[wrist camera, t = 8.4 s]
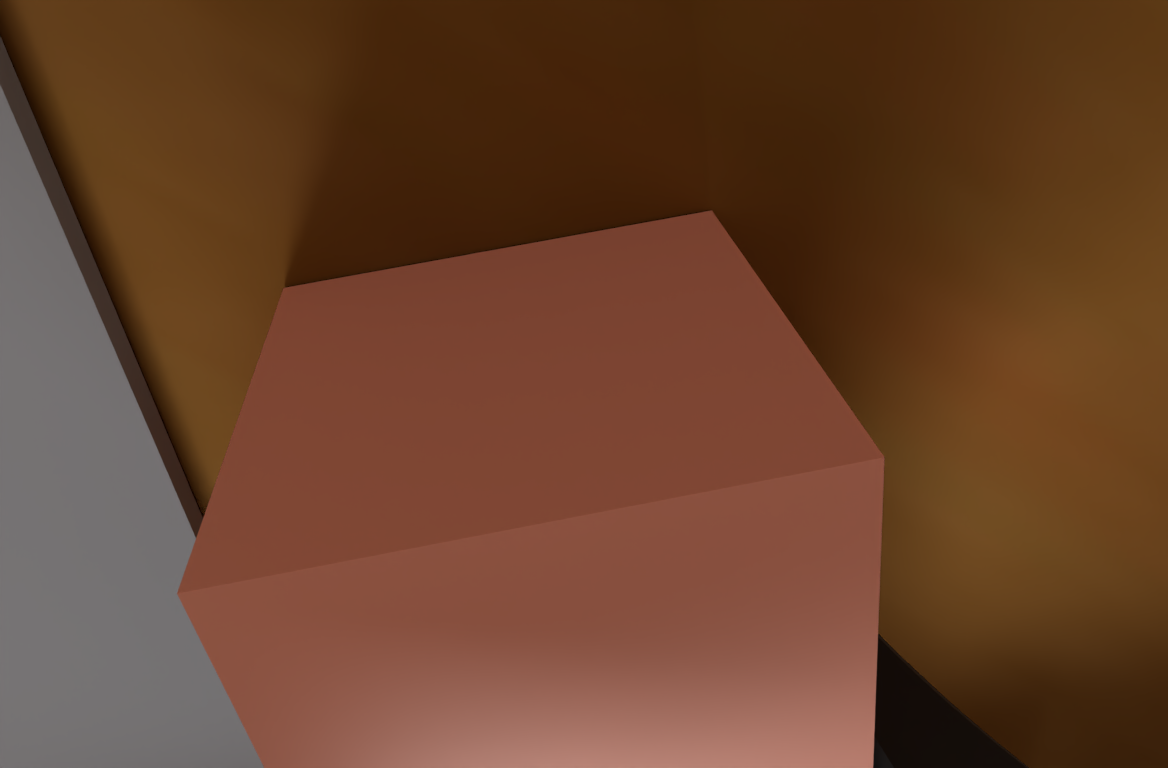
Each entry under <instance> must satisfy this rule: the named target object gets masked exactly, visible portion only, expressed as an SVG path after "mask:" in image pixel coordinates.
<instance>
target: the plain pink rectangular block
mask: <svg viewBox="0 0 1168 768" xmlns="http://www.w3.org/2000/svg"><path fill="white" fill-rule="evenodd" d="M884 458H885V457H884V456H883V454H882V453H881V452H880V450H879V449H878V447H877V446H876V444H875V443H874V442H873V440H872V439H871V437H870V436H869V434H868V433H867V432H866V430H865V429H864V427H863V426H862V424H861V423H860V422H859V420H858V419H857V417H856V416H855V414H854V413H853V412H852V410H851V409H850V407H849V406H848V404H847V403H846V402H845V400H844V399H843V397H842V396H841V394H840V393H839V392H838V390H837V389H836V387H835V386H834V384H833V383H832V382H831V380H830V379H829V377H828V376H827V374H826V373H825V372H824V370H823V369H822V367H821V366H820V364H819V363H818V362H817V360H816V359H815V357H814V356H813V354H812V353H811V352H810V350H809V349H808V347H807V346H806V344H805V343H804V342H803V340H802V339H801V337H800V336H799V334H798V333H797V332H796V330H795V329H794V327H793V326H792V324H791V323H790V322H789V320H788V319H787V317H786V316H785V314H784V313H783V312H782V310H781V309H780V307H779V306H778V304H777V303H776V301H775V300H774V299H773V297H772V296H771V294H770V293H769V291H768V290H767V289H766V287H765V286H764V284H763V283H762V281H761V280H760V279H759V277H758V276H757V274H756V273H755V271H754V270H753V269H752V267H751V266H750V264H749V263H748V261H747V260H746V259H745V257H744V256H743V254H742V253H741V251H740V250H739V249H738V247H737V246H736V244H735V243H734V241H733V240H732V239H731V237H730V236H729V234H728V233H727V231H726V230H725V229H724V227H723V226H722V224H721V223H720V221H719V220H718V219H717V217H716V216H715V214H714V213H713V211H712V210H711V211H706V212H700V213H695V214H689V215H684V216H678V217H673V218H667V219H662V220H656V221H650V222H645V223H639V224H634V225H628V226H623V227H617V228H612V229H606V230H601V231H595V232H590V233H584V234H579V235H573V236H568V237H562V238H557V239H551V240H546V241H540V242H535V243H529V244H523V245H518V246H512V247H507V248H501V249H496V250H490V251H485V252H479V253H474V254H468V255H463V256H457V257H452V258H446V259H441V260H435V261H430V262H424V263H419V264H413V265H408V266H402V267H397V268H391V269H385V270H380V271H374V272H369V273H363V274H358V275H352V276H347V277H341V278H336V279H330V280H325V281H319V282H314V283H308V284H303V285H297V286H292V287H286V288H283V291H282V294H281V297H280V299H279V302H278V305H277V308H276V311H275V314H274V317H273V320H272V322H271V325H270V328H269V331H268V334H267V337H266V340H265V342H264V345H263V348H262V351H261V354H260V357H259V360H258V363H257V365H256V368H255V371H254V374H253V377H252V380H251V383H250V386H249V388H248V391H247V394H246V397H245V400H244V403H243V406H242V408H241V411H240V414H239V417H238V420H237V423H236V426H235V429H234V431H233V434H232V437H231V440H230V443H229V446H228V449H227V451H226V454H225V457H224V460H223V463H222V466H221V469H220V472H219V474H218V477H217V480H216V483H215V486H214V489H213V492H212V495H211V497H210V500H209V503H208V506H207V509H206V512H205V515H204V517H203V520H202V523H201V526H200V529H199V532H198V535H197V538H196V540H195V543H194V546H193V549H192V552H191V555H190V558H189V560H188V563H187V566H186V569H185V572H184V575H183V578H182V581H181V583H180V586H179V589H178V592H177V595H178V597H179V599H180V601H181V603H182V605H183V607H184V609H185V611H186V613H187V615H188V617H189V619H190V621H191V623H192V625H193V627H194V629H195V631H196V633H197V635H198V637H199V639H200V641H201V643H202V645H203V647H204V649H205V651H206V653H207V655H208V657H209V659H210V661H211V662H212V664H213V666H214V668H215V670H216V672H217V674H218V676H219V678H220V680H221V682H222V684H223V686H224V688H225V690H226V692H227V694H228V696H229V698H230V700H231V702H232V704H233V706H234V708H235V710H236V712H237V714H238V716H239V718H240V720H241V722H242V724H243V726H244V728H245V730H246V732H247V734H248V736H249V738H250V740H251V742H252V744H253V746H254V748H255V750H256V752H257V754H258V756H259V758H260V760H261V762H262V764H263V766H264V768H873V759H874V731H875V704H876V676H877V649H878V622H879V594H880V567H881V540H882V512H883V485H884Z"/></svg>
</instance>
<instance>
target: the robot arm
mask: <svg viewBox="0 0 1168 768" xmlns="http://www.w3.org/2000/svg"><path fill="white" fill-rule="evenodd" d="M873 768H1029V767H1028V766H1026V765H1025V764H1024V763H1022V762H1021V761H1020V760H1019V759H1017V758H1016V757H1015V756H1014V755H1012V754H1011V753H1010V752H1009V751H1007V750H1006V749H1005V748H1004V747H1002V746H1001V745H1000V744H999V743H997V742H996V741H995V740H994V739H993V738H992V737H990V736H989V735H988V734H987V733H986V732H984V731H983V730H982V729H981V728H980V727H979V726H977V725H976V724H975V723H974V722H973V721H971V720H970V719H969V718H968V717H967V716H966V715H964V714H963V713H962V712H961V711H960V710H959V709H957V708H956V707H955V706H954V705H953V704H952V703H951V702H950V701H948V700H947V699H946V698H945V697H944V696H943V695H942V694H941V693H940V692H938V691H937V690H936V689H935V688H934V687H933V686H932V685H931V684H930V683H929V682H928V681H927V680H926V679H925V678H924V677H922V676H921V675H920V674H919V673H918V672H917V671H916V670H915V669H914V668H913V667H912V666H911V665H910V664H909V663H907V662H906V661H905V660H904V659H903V658H902V657H901V656H900V655H899V654H898V653H897V652H896V651H895V650H894V649H893V648H892V647H891V646H890V645H889V644H888V643H887V642H886V641H885V640H884V639H883V638H882V637H881V636H880V635H879V634H878V649H877V676H876V704H875V731H874V759H873Z"/></svg>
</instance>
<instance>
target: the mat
mask: <svg viewBox="0 0 1168 768" xmlns="http://www.w3.org/2000/svg"><path fill="white" fill-rule="evenodd" d="M202 520H203V517H202V515H201V513H200V510H199V508H198V506H197V503H196V501H195V498H194V496H193V494H192V491H191V489H190V487H189V484H188V482H187V479H186V477H185V475H184V472H183V470H182V467H181V465H180V463H179V460H178V458H177V456H176V453H175V451H174V448H173V446H172V444H171V441H170V439H169V437H168V434H167V432H166V429H165V427H164V425H163V422H162V420H161V417H160V415H159V413H158V410H157V408H156V406H155V403H154V401H153V398H152V396H151V394H150V391H149V389H148V387H147V384H146V382H145V379H144V377H143V375H142V372H141V370H140V367H139V365H138V363H137V360H136V358H135V356H134V353H133V351H132V348H131V346H130V344H129V341H128V339H127V337H126V334H125V332H124V329H123V327H122V325H121V322H120V320H119V317H118V315H117V313H116V310H115V308H114V306H113V303H112V301H111V298H110V296H109V294H108V291H107V289H106V287H105V284H104V282H103V279H102V277H101V275H100V272H99V270H98V267H97V265H96V263H95V260H94V258H93V256H92V253H91V251H90V248H89V246H88V244H87V241H86V239H85V237H84V234H83V232H82V229H81V227H80V225H79V222H78V220H77V217H76V215H75V213H74V210H73V208H72V206H71V203H70V201H69V198H68V196H67V194H66V191H65V189H64V187H63V184H62V182H61V179H60V177H59V175H58V172H57V170H56V167H55V165H54V163H53V160H52V158H51V156H50V153H49V151H48V148H47V146H46V144H45V141H44V139H43V137H42V134H41V132H40V129H39V127H38V125H37V122H36V120H35V117H34V115H33V113H32V110H31V108H30V106H29V103H28V101H27V98H26V96H25V94H24V91H23V89H22V87H21V84H20V82H19V79H18V77H17V75H16V72H15V70H14V67H13V65H12V63H11V60H10V58H9V56H8V53H7V51H6V48H5V46H4V44H3V41H2V39H1V37H0V768H264V766H263V764H262V762H261V760H260V758H259V756H258V754H257V752H256V750H255V748H254V746H253V744H252V742H251V740H250V738H249V736H248V734H247V732H246V730H245V728H244V726H243V724H242V722H241V720H240V718H239V716H238V714H237V712H236V710H235V708H234V706H233V704H232V702H231V700H230V698H229V696H228V694H227V692H226V690H225V688H224V686H223V684H222V682H221V680H220V678H219V676H218V674H217V672H216V670H215V668H214V666H213V664H212V662H211V661H210V659H209V657H208V655H207V653H206V651H205V649H204V647H203V645H202V643H201V641H200V639H199V637H198V635H197V633H196V631H195V629H194V627H193V625H192V623H191V621H190V619H189V617H188V615H187V613H186V611H185V609H184V607H183V605H182V603H181V601H180V599H179V597H178V595H177V592H178V589H179V586H180V583H181V581H182V578H183V575H184V572H185V569H186V566H187V563H188V560H189V558H190V555H191V552H192V549H193V546H194V543H195V540H196V538H197V535H198V532H199V529H200V526H201V523H202Z"/></svg>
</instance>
